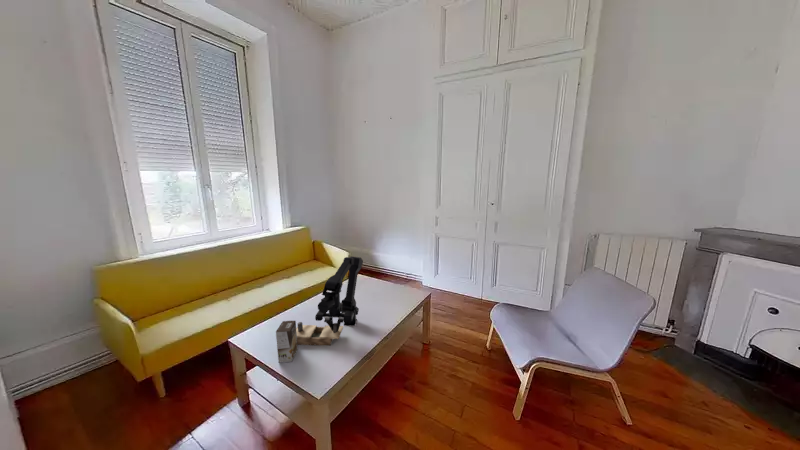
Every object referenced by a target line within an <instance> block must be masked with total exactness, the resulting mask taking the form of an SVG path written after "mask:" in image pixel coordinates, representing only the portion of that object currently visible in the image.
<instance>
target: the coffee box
mask: <svg viewBox="0 0 800 450" xmlns="http://www.w3.org/2000/svg"><path fill="white" fill-rule="evenodd" d="M296 321H297V320H283V321H282V322H281V323H280V324H279V327H278V328H277V329H276V331H275V337H276V349H277V360H278V363H292V362H293V360H294V358H295V356H296V354H297V351H298V350H299V349H298V345H297V333H296V328H297V324H296V323H297V322H296Z"/></svg>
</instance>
